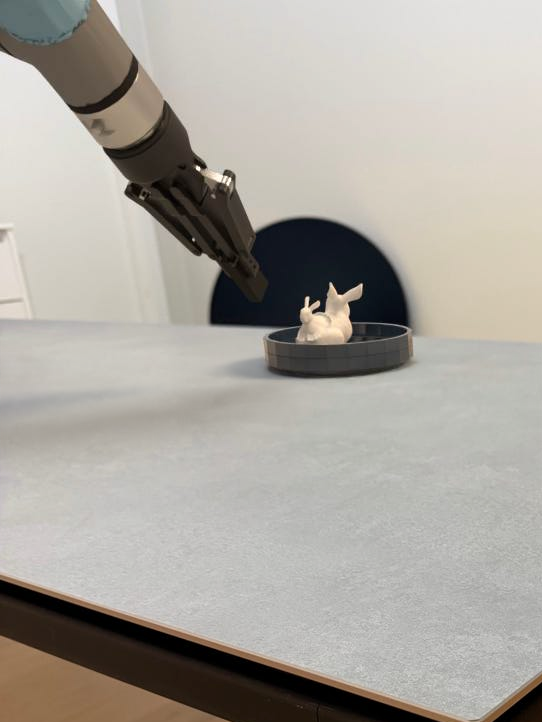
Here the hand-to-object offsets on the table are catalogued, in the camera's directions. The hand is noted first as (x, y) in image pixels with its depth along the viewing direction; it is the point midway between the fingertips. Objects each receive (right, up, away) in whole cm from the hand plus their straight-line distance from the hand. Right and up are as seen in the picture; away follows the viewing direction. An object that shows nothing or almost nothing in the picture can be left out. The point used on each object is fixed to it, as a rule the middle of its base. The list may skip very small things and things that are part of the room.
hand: (259, 292), depth 109 cm
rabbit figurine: (+6, -3, +15) cm, 17 cm away
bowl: (+7, -3, +17) cm, 18 cm away
